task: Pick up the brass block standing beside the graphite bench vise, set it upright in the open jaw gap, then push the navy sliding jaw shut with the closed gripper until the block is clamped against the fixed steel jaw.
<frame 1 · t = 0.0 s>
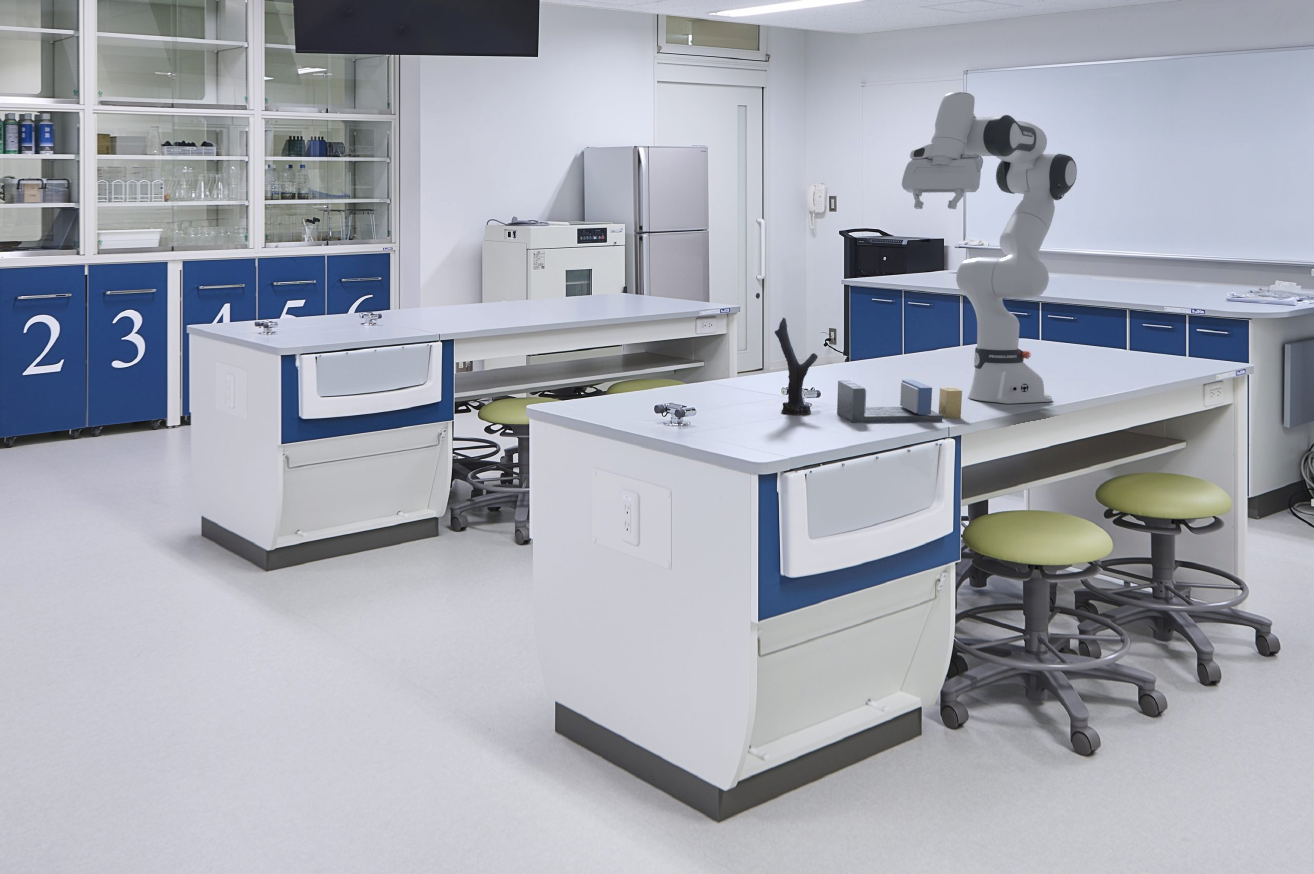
hand: (934, 208, 298), 52 cm above the worktop, tool tilted 20°, fingers open, 8 cm apart
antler: (793, 414, 308), on the worktop
sliding jaw: (915, 396, 304), point 5 cm above the worktop, slide at 0.0 cm
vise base: (888, 417, 304), on the worktop
brass block: (949, 416, 306), on the worktop
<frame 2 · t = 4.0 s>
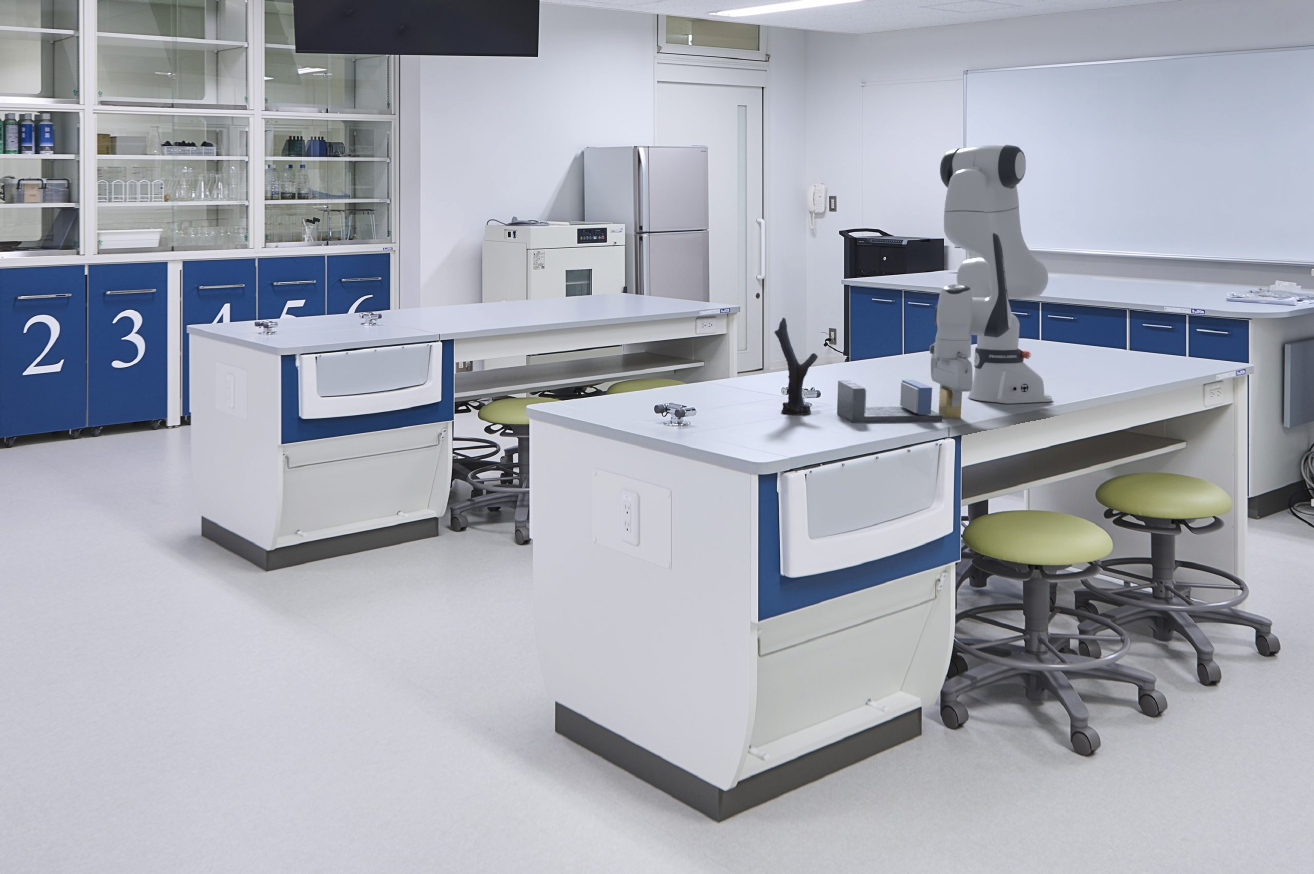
hand: (950, 404, 305), 3 cm above the worktop, tool pointing down, fingers closed on brass block, 5 cm apart
brass block: (949, 416, 306), on the worktop, touching gripper
everything else where it was.
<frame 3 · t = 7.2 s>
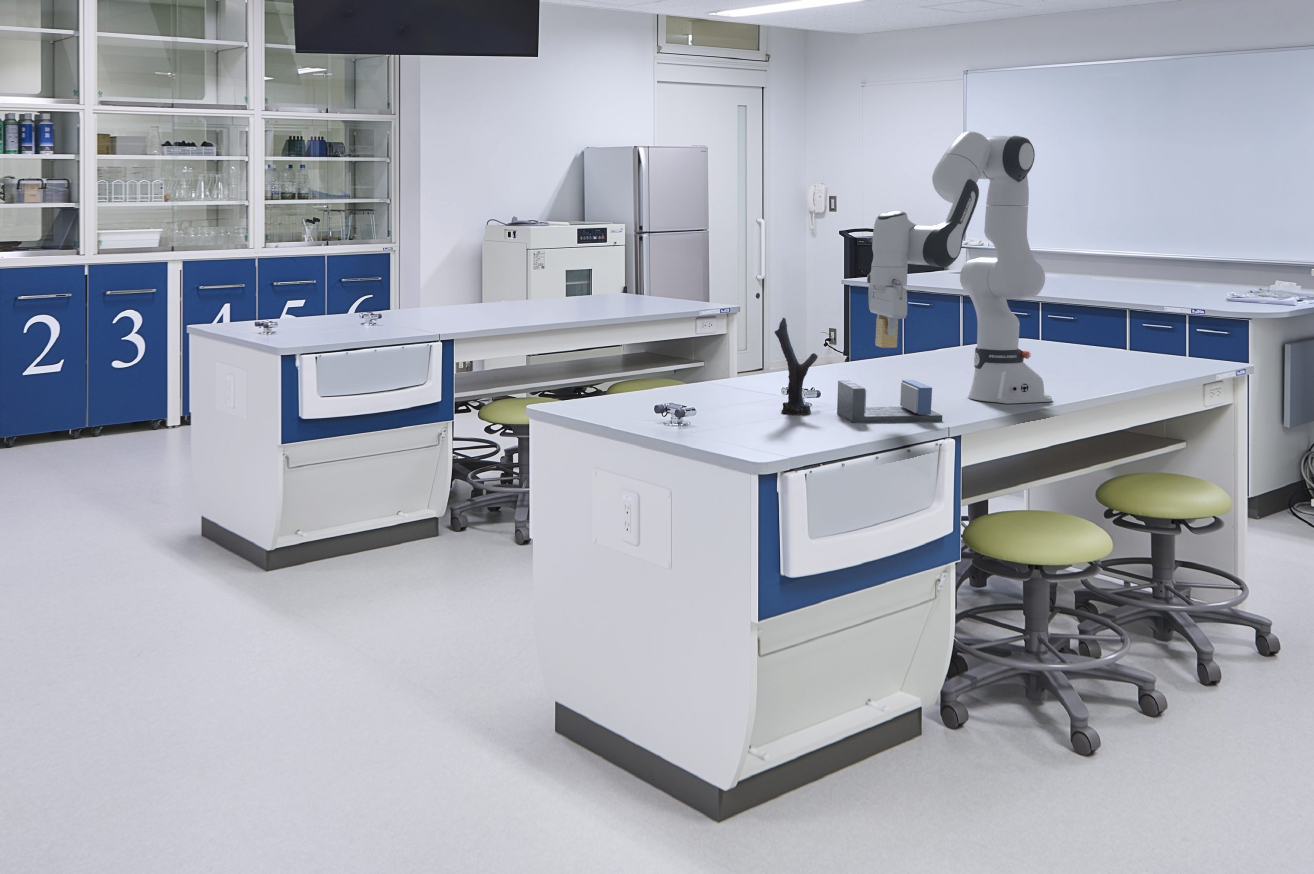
hand: (886, 334, 300), 21 cm above the worktop, tool pointing down, fingers closed on brass block, 5 cm apart
brass block: (886, 346, 300), point 18 cm above the worktop, touching gripper
everything else where it was.
when the fingers open (6 cm above the worktop, at t = 10.5 s): brass block stays where it is, resting on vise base.
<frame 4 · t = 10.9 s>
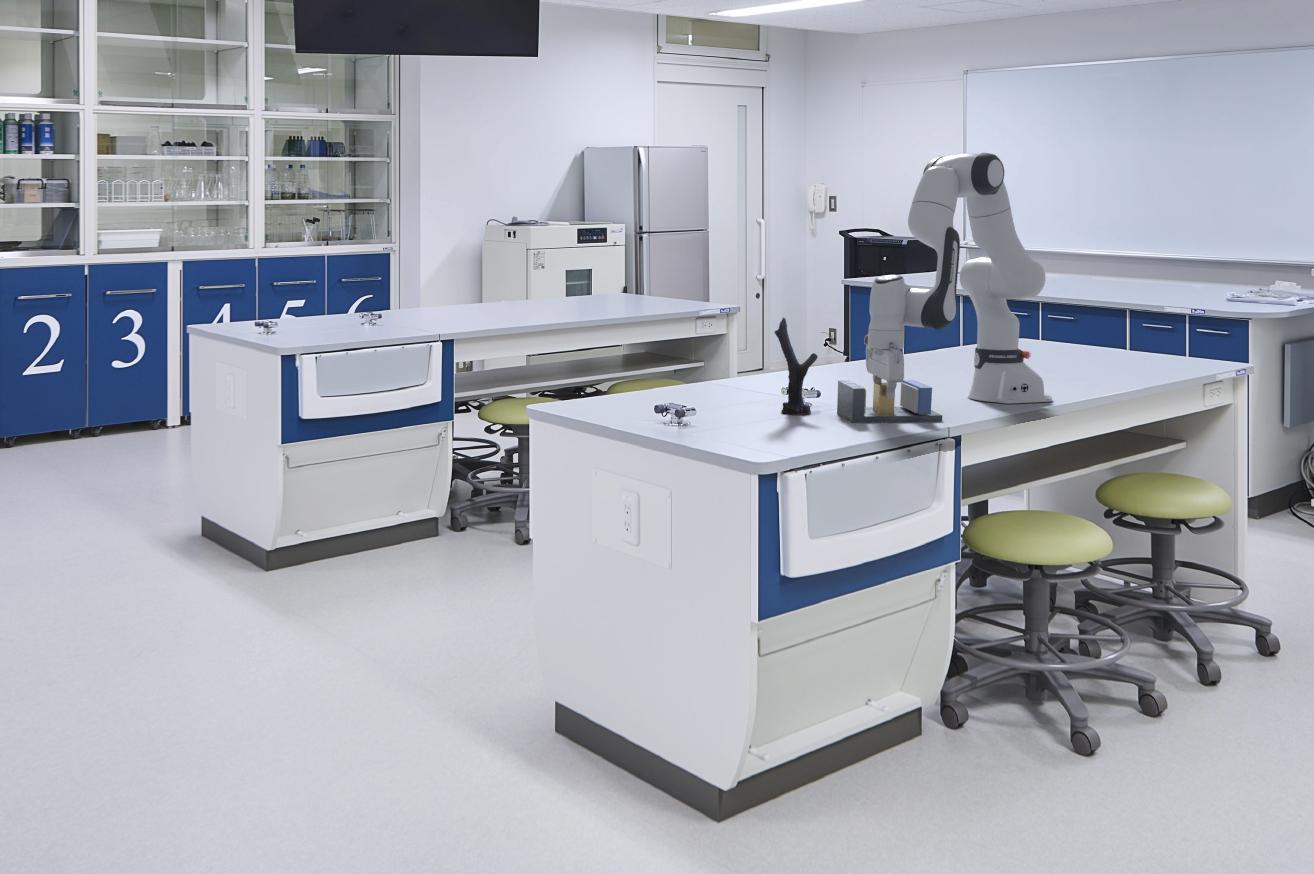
hand: (883, 395, 303), 6 cm above the worktop, tool pointing down, fingers open, 8 cm apart
brass block: (883, 411, 304), point 1 cm above the worktop, touching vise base
everything else where it was.
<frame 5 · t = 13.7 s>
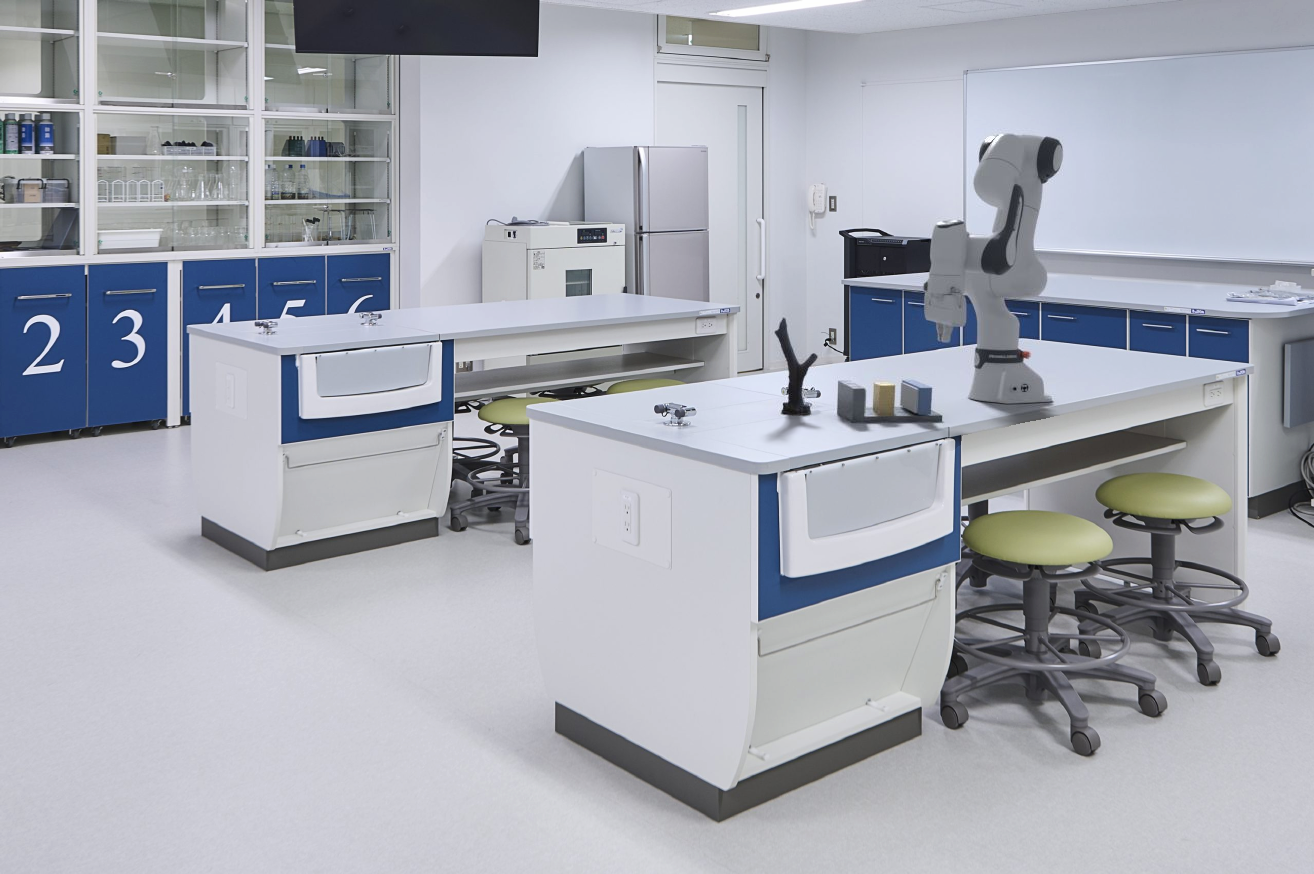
hand: (943, 341, 302), 19 cm above the worktop, tool pointing down, fingers closed
nothing on the worktop moved.
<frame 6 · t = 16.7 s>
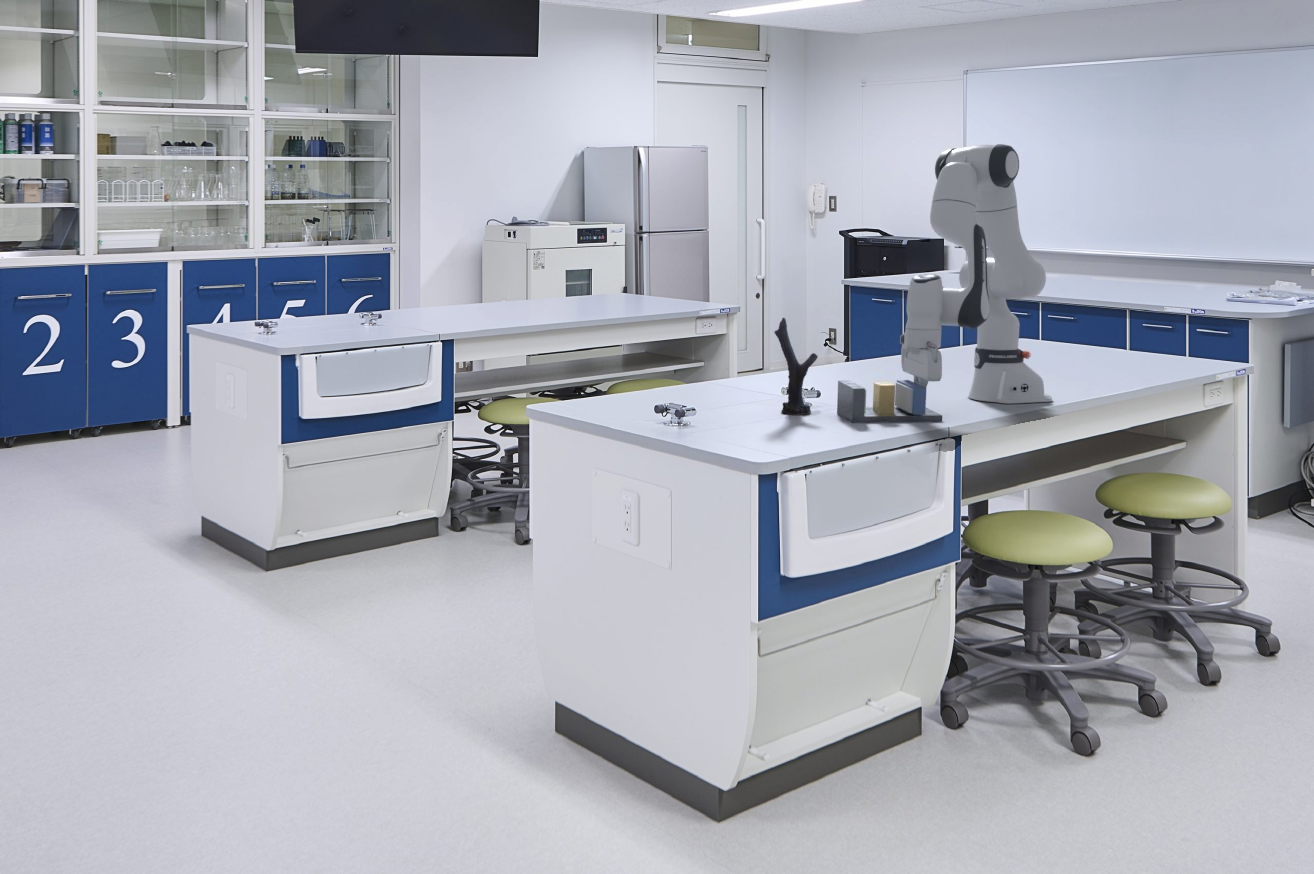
hand: (920, 394, 304), 6 cm above the worktop, tool pointing down, fingers closed, pressing on sliding jaw
sliding jaw: (909, 396, 304), point 5 cm above the worktop, slide at 1.4 cm, touching gripper
everything else where it was.
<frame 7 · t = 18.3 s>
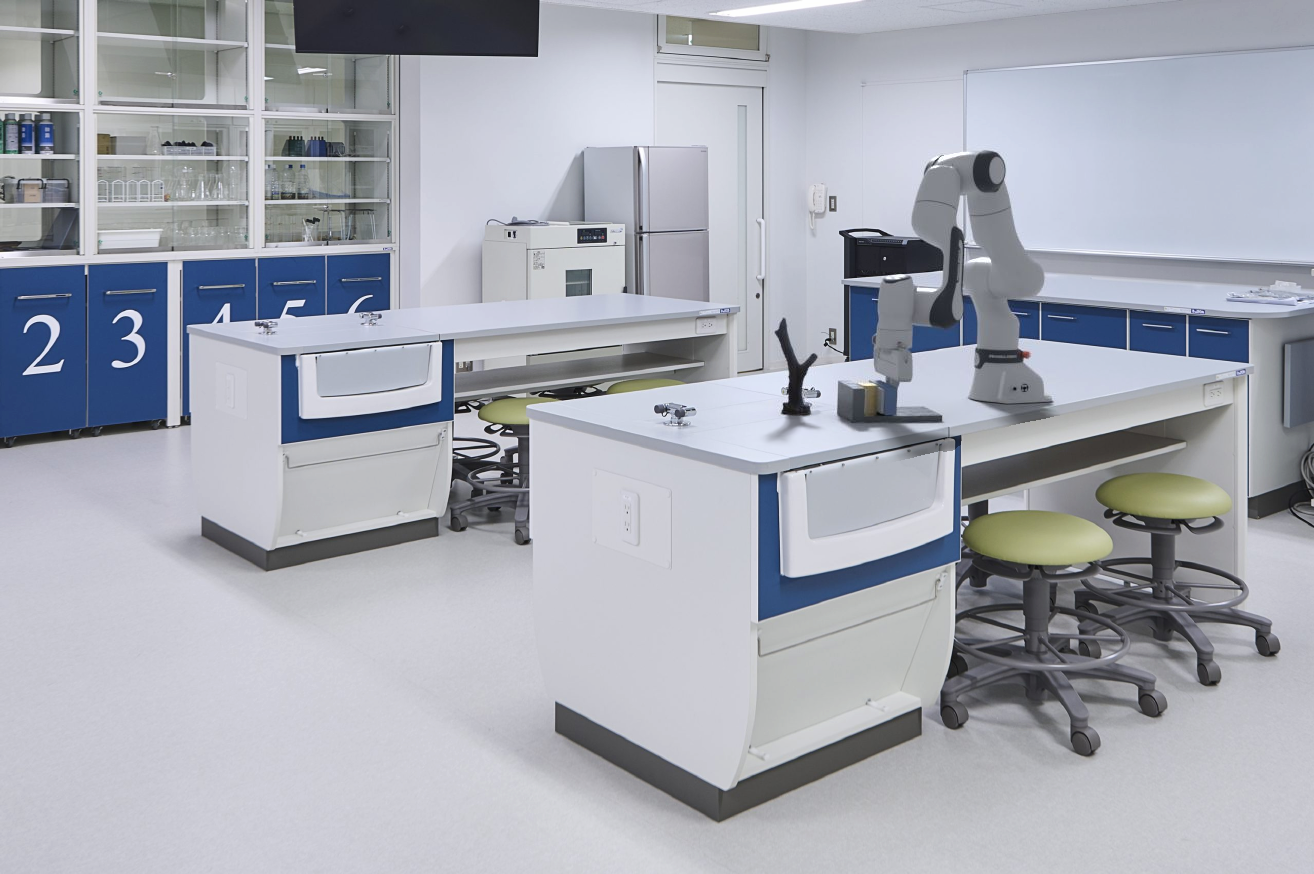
hand: (891, 395, 303), 6 cm above the worktop, tool pointing down, fingers closed, pressing on sliding jaw
sliding jaw: (881, 397, 303), point 5 cm above the worktop, slide at 8.8 cm, touching brass block, gripper
brass block: (866, 411, 303), point 2 cm above the worktop, touching sliding jaw, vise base
everything else where it was.
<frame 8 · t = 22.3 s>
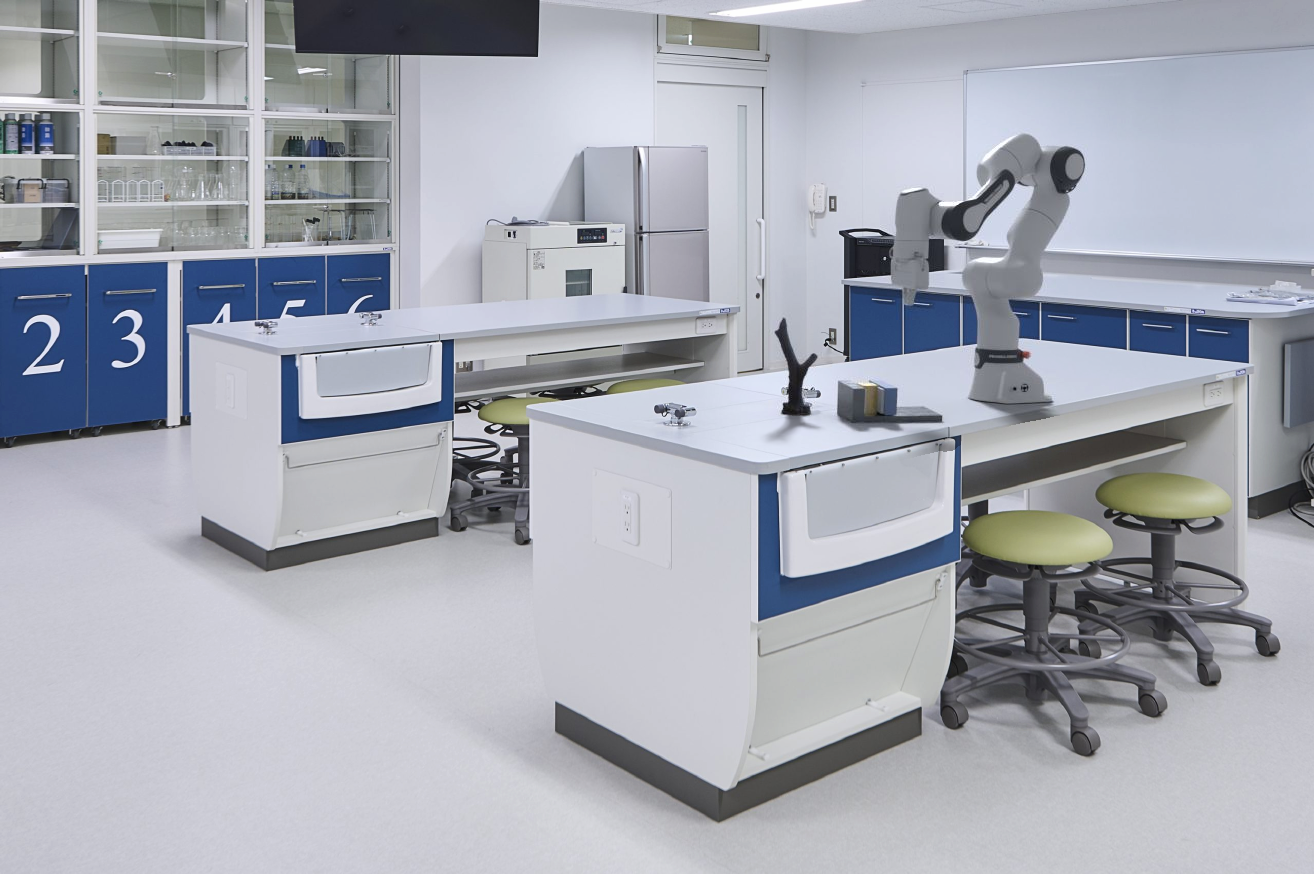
hand: (908, 305, 314), 27 cm above the worktop, tool pointing down, fingers closed
sliding jaw: (881, 397, 303), point 5 cm above the worktop, slide at 8.8 cm
brass block: (866, 411, 303), point 1 cm above the worktop, touching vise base
everything else where it was.
at the end: sliding jaw slide at 8.8 cm; brass block 0.1 cm from the target spot on the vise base, point 1.5 cm above the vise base's base; brass block tilted 0° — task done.
